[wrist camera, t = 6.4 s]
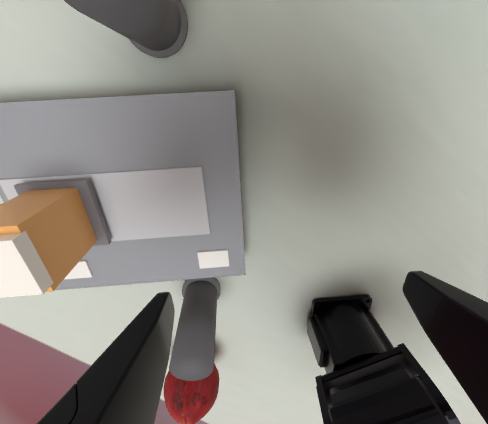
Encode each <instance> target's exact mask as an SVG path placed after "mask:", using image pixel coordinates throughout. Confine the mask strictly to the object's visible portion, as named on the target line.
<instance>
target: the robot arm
mask: <svg viewBox="0 0 488 424" xmlns="http://www.w3.org/2000/svg"><path fill="white" fill-rule="evenodd" d="M403 293H404V295H405V297H406V299H407V301H408V302H409V304H410V306H411V308H412V310H413V311H414V313H415V315H416V317H417V319H418V321H419V322H420V324H421V326H422V328H423V329H424V331H425V333H426V334H427V336H428V337H429V339H430V340H431V342H432V343H433V345H434V346H435V348H436V349H437V351H438V352H439V354H440V355H441V357H442V358H443V360H444V361H445V363H446V364H447V365H448V367H449V368H450V370H451V371H452V373H453V374H454V376H455V377H456V379H457V380H458V382H459V383H460V385H461V386H462V388H463V389H464V391H465V392H466V394H467V395H468V397H469V398H470V399H471V401H472V402H473V404H474V405H475V407H476V408H477V410H478V411H479V413H480V414H481V416H482V417H483V419H484V420H485V422H486V423H487V424H488V302H486V301H483V300H481V299H479V298H477V297H475V296H473V295H471V294H469V293H467V292H464V291H462V290H460V289H458V288H456V287H454V286H452V285H450V284H448V283H445V282H443V281H441V280H439V279H437V278H435V277H433V276H431V275H429V274H426V273H424V272H422V271H411V272H409V273H408V274H407V276H406V279H405V282H404V285H403ZM371 303H372V299H371V297H370V296H369V295H361V296H349V297H338V298H326V299H316V300H314V301H313V303H312V312H311V316H310V317H309V321H308V330H307V332H308V336H309V339H310V342H311V345H312V348H313V351H314V354H315V357H316V360H317V363H318V365H319V366H320V367H325V370H326V373H327V374H325V375H323V376H321V375H320V376H317V377H316V382H317V387H316V389H317V393H318V398H319V403H320V408H321V412H322V417H323V423H324V424H461V423H460V422H459V420H458V418H457V417H456V415H455V413H454V412H453V410H452V409H451V407H450V406H449V404H448V402H447V401H446V400H445V398H444V397H443V395H442V394H441V392H440V391H439V389H438V388H437V387H436V385H435V384H434V383H433V381H432V380H431V379H430V377H429V376H428V375H427V373H426V372H425V371H424V370H423V368H422V367H421V366H420V364H419V363H418V362H417V360H416V359H415V358H414V357H413V355H412V354H411V353H410V351H409V350H408V349H407V347H406V346H405V345H404V344H403V343H402V344H399V345H397V346H398V347H395V348H394V347H393V345H392V344H391V342H390V341H389V339H388V338H387V336H386V335H385V333H384V331H383V330H382V328H381V327H380V325H379V324H378V322H377V321H376V319H375V318H374V316H373V315H372V313H371V312H370V307H371ZM173 321H174V305H173V301H172V297H171V294H170V293H169V292H162V293H158V294H157V295H156V296H155V297H154V298H153V299H152V300H151V301H150V302H149V303H148V304H147V306H146V307H145V308H144V309H143V310H142V311H141V312H140V313H139V314H138V315H137V316H136V317H135V319H134V320H133V321H132V322H131V323H130V324H129V325H128V326H127V327H126V328H125V329H124V331H123V332H122V333H121V334H120V335H119V336H118V337H117V338H116V339H115V340H114V341H113V343H112V344H111V345H110V346H109V347H108V348H107V349H106V350H105V351H104V352H103V353H102V355H101V356H100V357H99V358H98V359H97V360H96V361H95V362H94V363H93V364H92V365H91V367H90V368H89V369H88V370H87V371H86V372H85V373H84V374H83V375H82V376H81V377H80V378H79V380H78V381H77V384H74V385H73V386H72V387H71V388H70V389H69V390H68V391H67V392H66V394H65V395H64V396H63V397H62V398H61V399H60V400H59V401H58V402H57V403H56V404H55V405H54V406H53V407H52V408H51V410H50V411H49V412H48V413H47V414H46V415H45V416H44V417H43V418H42V419H41V420H40V421H39V422H38V423H37V424H154V421H155V417H156V413H157V408H158V404H159V400H160V395H161V391H162V387H163V382H164V378H165V373H166V369H167V365H168V360H169V354H170V346H171V338H172V330H173Z"/></svg>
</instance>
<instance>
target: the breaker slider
mask: <svg viewBox="0 0 488 424" xmlns="http://www.w3.org/2000/svg"><path fill="white" fill-rule="evenodd" d="M14 188H15V190H16V192H17V194H18V196H17V197H15V198H13V199H11V200H9V201H7V202H5V203H3V204H1V205H0V298H2V297H15V296H27V295H39V294H44V293H45V292H50V291H54V290H55V289H56V288H57V286H58V285H59V284H60V283H61V282H62V281H63V280H64V278H65V277H66V276H67V275H68V274H69V273H70V272H71V270H72V269H73V268H74V267H75V266H76V265H77V263H78V262H79V261H80V260H81V259H82V258H83V257H84V255H85V254H86V253H87V252H88V251H89V250H90V249H91V247H92V246H97V245H109V244H110V243H111V242H112V241H111V238H110V236H109V233H108V230H107V227H106V224H105V222H104V219H103V216H102V213H101V210H100V208H99V205H98V202H97V199H96V196H95V194H94V191H93V188H92V185H91V183H90V180H89V179H78V180H63V181H47V182H32V183H18V184H16V185H14Z"/></svg>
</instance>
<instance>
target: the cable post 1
mask: <svg viewBox="0 0 488 424" xmlns="http://www.w3.org/2000/svg"><path fill="white" fill-rule="evenodd" d="M64 1H65V2H66V3H68V4H69V5H70V6H71V7H73V8H74V9H76V10H77V11H79V12H81V13H83V14H84V15H86V16H88V17H90V18H92V19H94V20H96V21H97V22H99V23H101V24H103V25H105V26H107V27H109V28H110V29H112V30H114V31H116V32H118V33H120V34H121V35H123V36H125V37H127V38H129V39H130V41H131V42H132V43H133V44H134V45H135V46H136V47H137V48H138V49H139V50H141V51H142V52H144V53H146V54H148V55H150V56H153V57H157V58H165V57H169V56H171V55H173V54H175V53H176V52H177V51H178V50H179V49H180V48H181V47H182V45H183V43H184V41H185V39H186V35H187V16H186V12H185V9H184V7H183V4H182V2H181V0H64Z"/></svg>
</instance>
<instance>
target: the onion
mask: <svg viewBox="0 0 488 424" xmlns="http://www.w3.org/2000/svg"><path fill="white" fill-rule="evenodd" d="M218 387H219V374H218V370H217V368H216V366H215V364H214V368H213V372H212V373H211V374H210V375H209V376H208V377H206V378H204V379H201V380H196V381H186V380H181V379H178V378H176V377H175V376H173V375H172V374H171V372H170V370H169V372H168V374H167V376H166V378H165V383H164V398H165V403H166V407H167V409H168V412H169V413H170V415H171V416H172V417H173V418H174V419H175V420H176V421H177V422H178V423H180V424H195V423H196V422H198V421H199V420H200V419H202V418H203V417H204V416H205V415H206V414H207V413H208V412H209V410H210V409H211V408H212V406H213V404H214V402H215V400H216V398H217V394H218Z"/></svg>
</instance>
